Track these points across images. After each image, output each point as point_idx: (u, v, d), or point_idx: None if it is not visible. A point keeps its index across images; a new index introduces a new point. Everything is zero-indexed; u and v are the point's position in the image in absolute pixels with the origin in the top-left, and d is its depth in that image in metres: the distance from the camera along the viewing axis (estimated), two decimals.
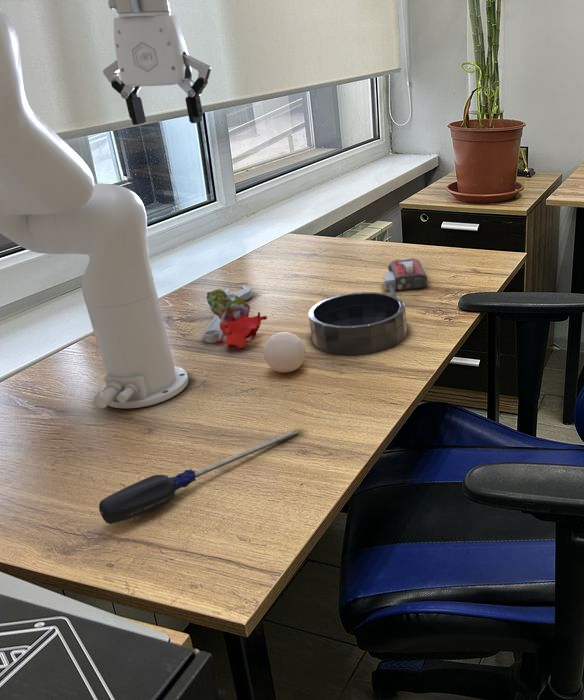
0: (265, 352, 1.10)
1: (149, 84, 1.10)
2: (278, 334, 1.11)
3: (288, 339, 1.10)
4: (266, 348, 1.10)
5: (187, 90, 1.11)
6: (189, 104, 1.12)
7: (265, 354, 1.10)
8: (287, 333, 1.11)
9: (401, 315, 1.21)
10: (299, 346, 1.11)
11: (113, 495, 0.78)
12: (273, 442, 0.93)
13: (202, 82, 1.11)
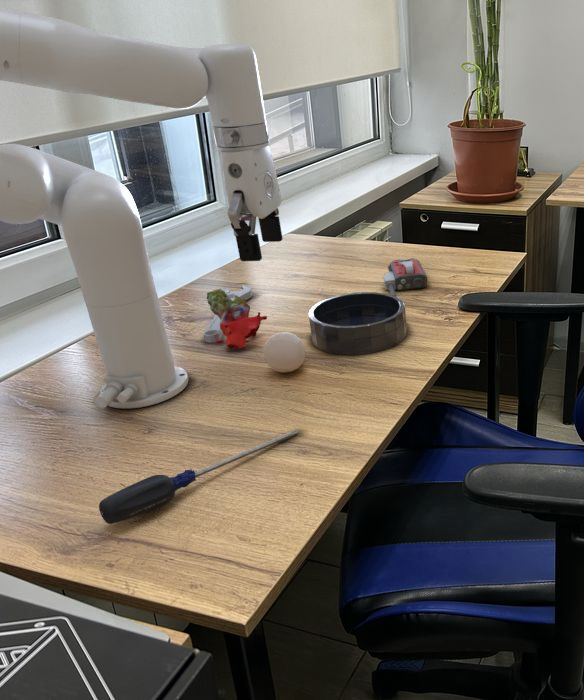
0: (265, 352, 1.10)
1: (272, 211, 1.06)
2: (278, 334, 1.11)
3: (287, 339, 1.10)
4: (266, 348, 1.10)
5: (276, 210, 1.12)
6: (279, 223, 1.13)
7: (265, 354, 1.10)
8: (287, 333, 1.11)
9: (401, 315, 1.21)
10: (299, 346, 1.11)
11: (113, 495, 0.78)
12: (273, 442, 0.93)
13: None
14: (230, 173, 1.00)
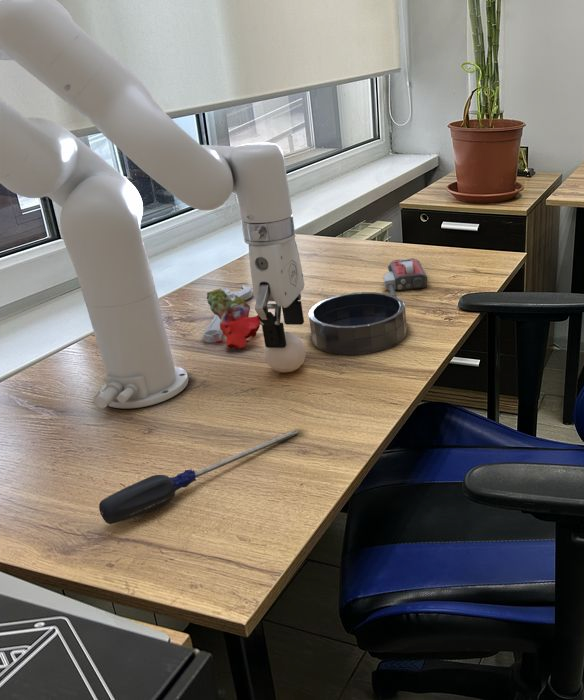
0: (265, 352, 1.11)
1: (295, 298, 1.10)
2: None
3: (288, 339, 1.10)
4: (266, 348, 1.10)
5: (298, 295, 1.15)
6: (301, 307, 1.16)
7: (265, 354, 1.11)
8: (287, 333, 1.11)
9: (401, 315, 1.21)
10: (299, 346, 1.11)
11: (113, 495, 0.78)
12: (273, 442, 0.93)
13: None
14: (257, 265, 1.04)
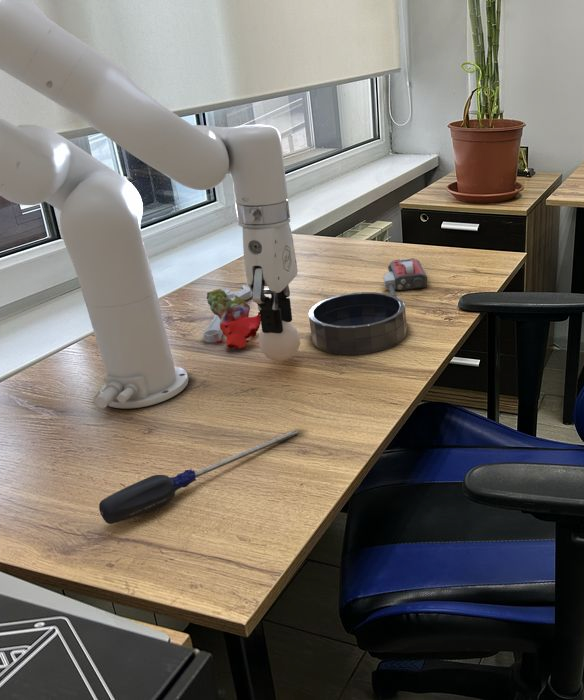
0: (259, 340, 1.11)
1: None
2: None
3: (283, 327, 1.11)
4: (261, 336, 1.11)
5: (287, 290, 1.12)
6: (290, 304, 1.13)
7: (260, 342, 1.11)
8: (282, 321, 1.12)
9: (401, 315, 1.21)
10: (293, 334, 1.11)
11: (113, 495, 0.78)
12: (273, 442, 0.93)
13: None
14: (250, 249, 1.03)
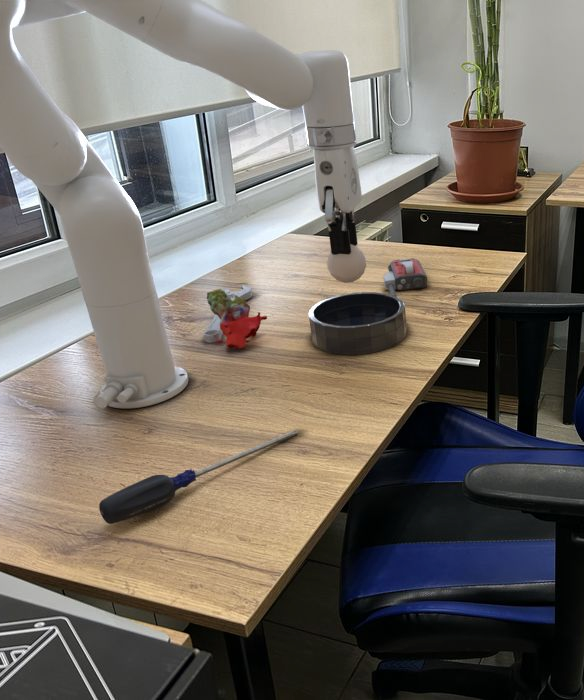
0: (329, 262, 1.17)
1: None
2: None
3: None
4: (330, 258, 1.16)
5: (353, 215, 1.18)
6: (355, 228, 1.19)
7: (329, 263, 1.17)
8: None
9: (401, 315, 1.21)
10: (361, 256, 1.17)
11: (113, 495, 0.78)
12: (273, 442, 0.93)
13: None
14: (321, 170, 1.08)
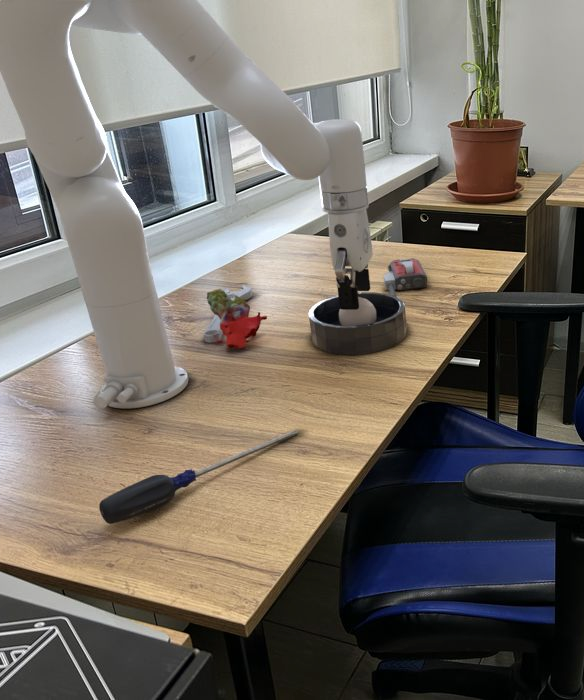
0: (341, 315, 1.22)
1: (367, 264, 1.19)
2: None
3: (362, 303, 1.21)
4: (342, 311, 1.21)
5: None
6: (368, 275, 1.25)
7: (341, 317, 1.22)
8: (360, 298, 1.23)
9: (401, 315, 1.21)
10: (371, 309, 1.22)
11: (113, 495, 0.78)
12: (273, 442, 0.93)
13: None
14: (335, 232, 1.13)
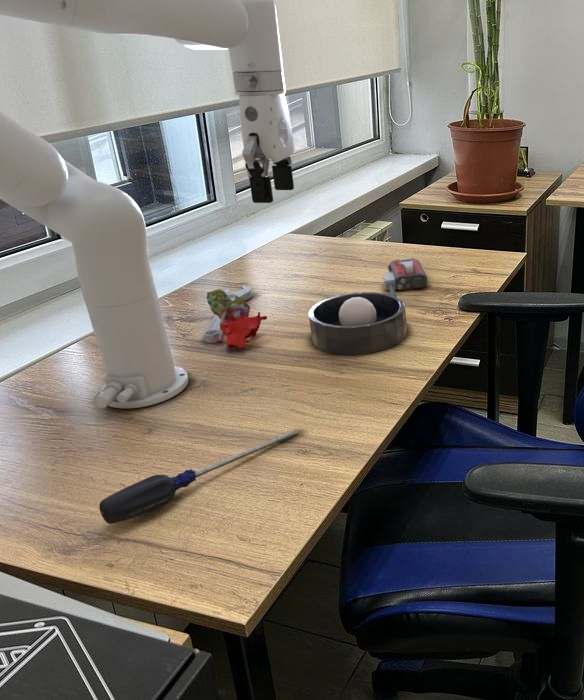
0: (341, 315, 1.22)
1: (284, 157, 1.12)
2: (352, 299, 1.22)
3: (362, 303, 1.21)
4: (342, 311, 1.21)
5: (288, 159, 1.17)
6: (291, 172, 1.18)
7: (341, 317, 1.22)
8: (360, 298, 1.23)
9: (401, 315, 1.21)
10: (371, 309, 1.22)
11: (113, 495, 0.78)
12: (273, 442, 0.93)
13: None
14: (247, 116, 1.06)
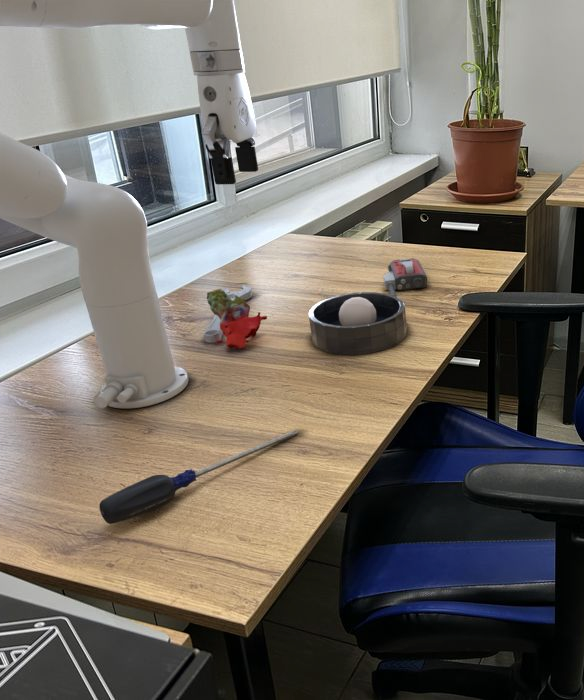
0: (341, 315, 1.22)
1: (246, 138, 1.11)
2: (352, 299, 1.22)
3: (362, 303, 1.21)
4: (342, 311, 1.21)
5: (252, 140, 1.16)
6: (255, 153, 1.17)
7: (341, 317, 1.22)
8: (360, 298, 1.23)
9: (401, 315, 1.21)
10: (371, 309, 1.22)
11: (113, 495, 0.78)
12: (273, 442, 0.93)
13: None
14: (205, 97, 1.05)
